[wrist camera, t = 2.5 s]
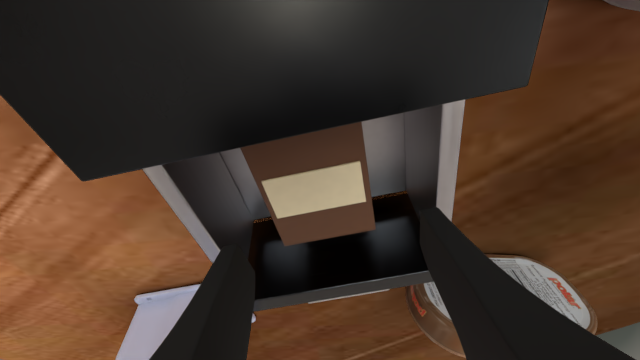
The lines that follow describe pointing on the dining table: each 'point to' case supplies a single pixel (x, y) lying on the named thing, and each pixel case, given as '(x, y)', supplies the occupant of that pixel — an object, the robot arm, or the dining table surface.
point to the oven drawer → (338, 252)
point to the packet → (315, 183)
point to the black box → (244, 69)
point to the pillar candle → (626, 4)
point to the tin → (524, 270)
